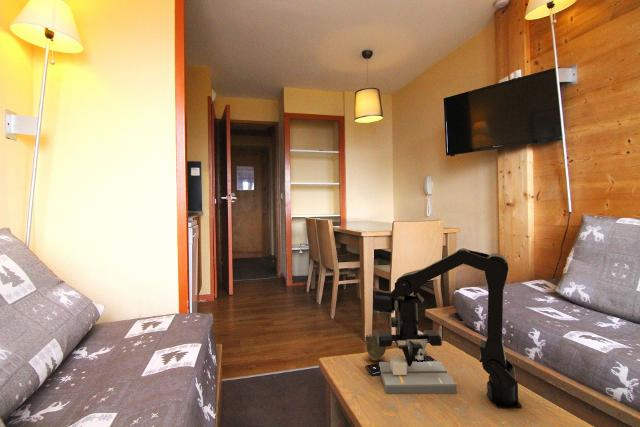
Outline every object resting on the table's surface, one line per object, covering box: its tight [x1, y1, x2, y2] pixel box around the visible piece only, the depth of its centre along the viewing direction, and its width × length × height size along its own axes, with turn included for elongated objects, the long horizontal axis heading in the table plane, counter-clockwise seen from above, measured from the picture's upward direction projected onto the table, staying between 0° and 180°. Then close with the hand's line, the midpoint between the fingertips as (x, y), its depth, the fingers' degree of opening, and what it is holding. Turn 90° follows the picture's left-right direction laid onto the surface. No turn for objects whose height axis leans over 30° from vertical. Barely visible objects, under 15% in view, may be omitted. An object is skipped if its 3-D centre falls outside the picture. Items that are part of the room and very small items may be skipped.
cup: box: [364, 333, 387, 363], centre depth 115 cm, size 8×7×8 cm
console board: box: [378, 360, 458, 395], centre depth 101 cm, size 20×14×3 cm
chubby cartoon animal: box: [406, 330, 428, 360], centre depth 116 cm, size 7×12×8 cm, turn 168°
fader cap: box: [389, 355, 407, 375], centre depth 101 cm, size 4×5×4 cm
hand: (409, 365), depth 101 cm, fingers closed
